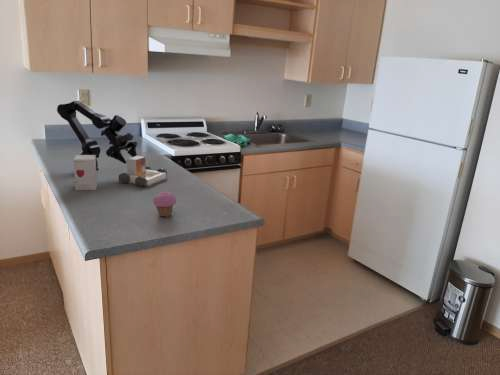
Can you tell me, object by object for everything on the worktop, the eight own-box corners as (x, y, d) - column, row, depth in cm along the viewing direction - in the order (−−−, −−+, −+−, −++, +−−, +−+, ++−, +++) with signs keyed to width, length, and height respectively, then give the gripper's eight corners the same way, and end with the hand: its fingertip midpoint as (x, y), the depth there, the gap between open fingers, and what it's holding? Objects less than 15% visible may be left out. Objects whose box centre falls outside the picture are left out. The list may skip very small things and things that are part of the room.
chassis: (145, 188, 195) (145, 178, 193) (117, 182, 201) (116, 172, 199) (168, 178, 212) (168, 169, 211) (142, 173, 218) (142, 164, 217)
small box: (136, 180, 202) (135, 159, 199) (127, 178, 204) (126, 158, 201) (146, 176, 209) (145, 156, 206) (137, 174, 211) (136, 155, 208)
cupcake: (177, 212, 167) (177, 189, 164) (174, 220, 159) (174, 196, 156) (155, 211, 167) (155, 188, 164) (151, 219, 159) (151, 195, 156)
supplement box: (75, 190, 185) (72, 159, 181) (77, 184, 193) (75, 154, 189) (96, 190, 188) (94, 159, 183) (97, 184, 196) (95, 154, 191)
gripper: (109, 130, 195) (128, 155, 194) (134, 125, 211) (151, 149, 211) (97, 143, 200) (116, 168, 199) (122, 138, 216) (139, 161, 216)
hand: (131, 161), depth 206 cm, fingers open, 9 cm apart
